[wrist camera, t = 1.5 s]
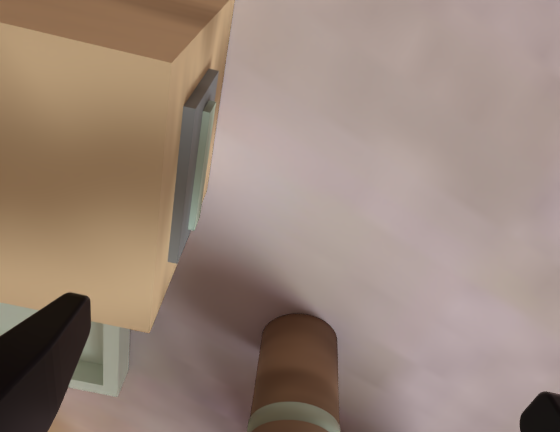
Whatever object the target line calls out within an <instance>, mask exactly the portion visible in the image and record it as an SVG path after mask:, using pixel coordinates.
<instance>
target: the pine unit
mask: <svg viewBox="0 0 560 432" xmlns="http://www.w3.org/2000/svg"><path fill="white" fill-rule="evenodd" d="M234 2H235V0H0V302H1V303H6V304H10V305H15V306H20V307H25V308H30V309H35V310H40V309H42V308H43V307H45V306H46V305H48V304H49V303H51V302H52V301H54V300H55V299H57V298H58V297H60V296H62V295H63V294H65V293H68V292H73V293H77V294H82V295H86V296H88V297H89V298H90V301H91V321H93V322H98V323H102V324H107V325H112V326H117V327H122V328H127V329H131V330H136V331H141V332H146V333H150V331H151V328H152V326H153V323H154V321H155V318H156V316H157V313H158V311H159V308H160V306H161V303H162V301H163V298H164V296H165V293H166V291H167V288H168V286H169V283H170V281H171V279H172V276H173V274H174V271H175V269H176V266H177V264H178V261H179V259H180V256H181V254H182V251H183V249H184V246H185V244H186V241H187V239H188V237H189V234H190V232H191V230H193V231H194V230H195V228H196V225H197V223H198V220H199V217H200V212H201V205H202V202H203V199H204V197H205V194H206V192H207V186H208V179H209V172H210V165H211V158H212V152H213V145H214V138H215V131H216V124H217V117H218V111H219V104H220V97H221V90H222V83H223V77H224V70H225V63H226V56H227V49H228V42H229V36H230V29H231V22H232V15H233V8H234Z"/></svg>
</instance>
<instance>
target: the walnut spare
mask: <svg viewBox="0 0 560 432" xmlns="http://www.w3.org/2000/svg"><path fill="white" fill-rule="evenodd" d="M247 432H341V431H340V426H339V394H338V353H337V337H336V334H335V332H334V330H333V329H332V328H331V326H330V325H328V324H327V323H326V322H324V321H323V320H321V319H319V318H317V317H314V316H310V315H305V314H288V315H284V316H281V317H278V318H276V319H274V320H273V321H271V322H270V323H269V324H268V325H267V326H266V327H265V329H264V331H263V334H262V340H261V347H260V354H259V360H258V367H257V374H256V381H255V388H254V395H253V402H252V408H251V415H250V419H249V422H248V428H247Z"/></svg>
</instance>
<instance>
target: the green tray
mask: <svg viewBox="0 0 560 432" xmlns="http://www.w3.org/2000/svg"><path fill="white" fill-rule="evenodd" d="M37 311H39V310H35V309H30V308H25V307H20V306H15V305H10V304H6V303H1V302H0V336H1V335H2V334H4V333H5V332H7V331H8V330H10V329H11V328H13V327H14V326H16V325H17V324H19V323H20V322H22V321H24V320H25V319H27V318H28V317H30V316H31V315H33V314H34V313H36V312H37ZM129 347H130V329H127V328H122V327H117V326H112V325H107V324H102V323H98V322H93V321H91V329H90V334H89V337H88V339H87V342H86V344H85V347H84V349H83V352H82V354H81V356H80V359H79V361H78V364H77V366H76V369H75V371H74V374H73V376H72V379H71V381H70V384H69V386H68V387H69V388H74V389H79V390H84V391H89V392H94V393H99V394H104V395H109V396H114V397H118V395H119V392H120V390H121V388H122V385H123V383H124V380H125V378H126V376H127V373H128V368H129Z"/></svg>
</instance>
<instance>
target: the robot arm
mask: <svg viewBox="0 0 560 432" xmlns="http://www.w3.org/2000/svg"><path fill="white" fill-rule="evenodd" d="M90 329H91V301H90V298H89V297H88V296H86V295H82V294H77V293H73V292H68V293H65V294H63V295H62V296H60V297H58V298H57V299H55V300H54V301H52V302H51V303H49V304H48V305H46V306H45V307H43V308H42V309H40V310H39V311H37V312H36V313H34V314H33V315H31V316H30V317H28V318H27V319H25V320H24V321H22V322H20V323H19V324H17V325H16V326H14V327H13V328H11V329H10V330H8V331H7V332H5V333H4V334H2V335H1V336H0V432H47V431H48V430H49V428H50V426H51V424H52V422H53V420H54V418H55V416H56V414H57V412H58V410H59V408H60V405H61V403H62V401H63V398H64V396H65V393H66V391H67V388H68V386H69V384H70V381H71V379H72V376H73V374H74V371H75V369H76V366H77V364H78V361H79V359H80V356H81V354H82V352H83V349H84V347H85V344H86V342H87V339H88V337H89V334H90ZM520 431H521V432H560V394H556V393H551V392H541V393H540V394H538V396H537V397H536V398H535V399H534V400H533V401H532V402H531V404H530V405H529V406H528V407H527V408H526V409H525V410H524V412H523V413H522V415H521V418H520Z"/></svg>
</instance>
